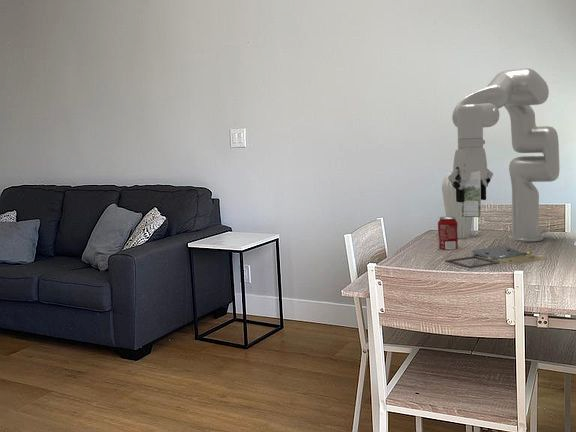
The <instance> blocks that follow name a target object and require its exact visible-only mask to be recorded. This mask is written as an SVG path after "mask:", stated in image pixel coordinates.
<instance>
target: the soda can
mask: <svg viewBox="0 0 576 432" xmlns="http://www.w3.org/2000/svg"><path fill="white" fill-rule="evenodd" d="M458 242H459V239H458V233H457V221H456V220H455V217H446V216H440V217H439V220H438V221H437V243H438V245H437V247H438V248H437V250H441V251H454V250H458V248H459V243H458Z"/></svg>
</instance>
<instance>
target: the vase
mask: <svg viewBox="0 0 576 432" xmlns="http://www.w3.org/2000/svg"><path fill="white" fill-rule="evenodd" d="M452 173H453V171H447V172H446V174H445V175H444V177H443V180H442V185H441V193H442V197H443V203H444V211H445V217H455V220H456V221H457V233H458V240H459V239H460V240H462V239H463V240H464V239H469V238H471V233H472V224H473V217H462V202H457V201H456V189H454V187H453V186H452V184H451V182H450V181H449V179H448V177H449V176H450V175H451V174H452Z"/></svg>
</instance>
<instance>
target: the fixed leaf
mask: <svg viewBox="0 0 576 432" xmlns="http://www.w3.org/2000/svg"><path fill="white" fill-rule="evenodd" d="M525 252H526V253H527V254H526V255H520V256H513V257H507V258H500V259H494V261H498V262H500V263H501V262H502V263H507V264H509V265H514V266H515V265H519V264H526V263H533V262H538V261H546V260H549V258H548V257H542V256H538V255H533V254H532V251H531V250H530V251H525ZM485 259H489V260H493V258H492V257H490V258H485Z"/></svg>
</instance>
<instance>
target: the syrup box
mask: <svg viewBox="0 0 576 432" xmlns="http://www.w3.org/2000/svg"><path fill="white" fill-rule="evenodd" d="M463 190H464V200H465V201H464V202H462V217H472V218H480V217H481V216H482V203H481V201H482V200H481V180H480V170H478V171H473V172H471V177H470V180H469V181H467V182H465V184H464V187H463Z"/></svg>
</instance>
